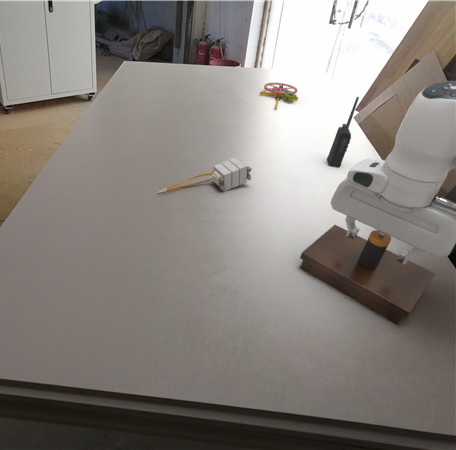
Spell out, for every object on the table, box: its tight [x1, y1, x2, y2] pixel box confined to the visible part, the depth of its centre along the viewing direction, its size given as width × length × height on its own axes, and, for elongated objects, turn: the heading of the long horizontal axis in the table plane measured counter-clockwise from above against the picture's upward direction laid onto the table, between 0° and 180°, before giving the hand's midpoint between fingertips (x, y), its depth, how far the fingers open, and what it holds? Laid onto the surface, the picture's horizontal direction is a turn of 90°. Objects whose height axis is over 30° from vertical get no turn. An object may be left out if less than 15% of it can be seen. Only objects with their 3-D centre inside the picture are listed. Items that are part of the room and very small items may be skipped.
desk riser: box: [299, 224, 437, 325], centre depth 78 cm, size 20×14×4 cm
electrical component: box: [157, 157, 253, 194], centre depth 101 cm, size 24×6×5 cm, turn 115°
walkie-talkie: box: [326, 96, 360, 168], centre depth 112 cm, size 5×3×20 cm
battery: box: [358, 229, 392, 269], centre depth 74 cm, size 3×3×7 cm
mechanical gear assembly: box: [259, 82, 299, 110], centre depth 160 cm, size 30×4×15 cm
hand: (375, 248), depth 74 cm, fingers open, 8 cm apart
